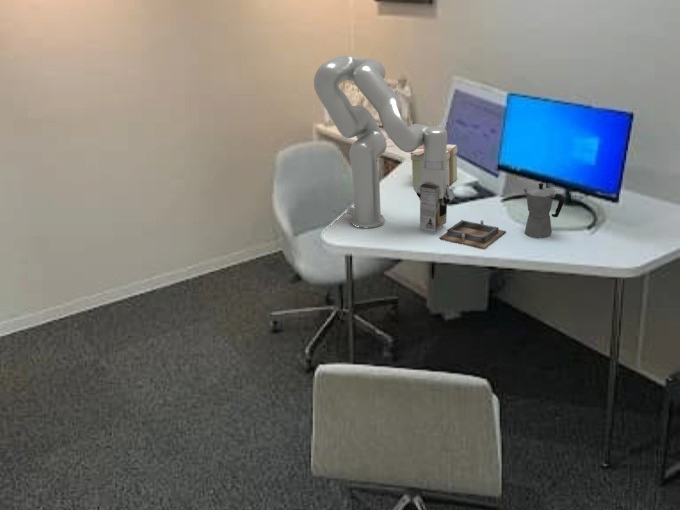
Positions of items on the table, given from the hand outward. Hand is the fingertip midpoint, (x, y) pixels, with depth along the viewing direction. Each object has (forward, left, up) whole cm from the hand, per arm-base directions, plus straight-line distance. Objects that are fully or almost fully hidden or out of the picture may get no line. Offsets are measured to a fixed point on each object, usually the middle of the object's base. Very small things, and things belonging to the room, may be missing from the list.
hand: (433, 212), depth 253 cm
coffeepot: (+34, +14, -7) cm, 37 cm away
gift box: (-26, +43, -7) cm, 51 cm away
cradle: (+15, +1, -6) cm, 16 cm away
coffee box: (0, 0, -5) cm, 5 cm away
